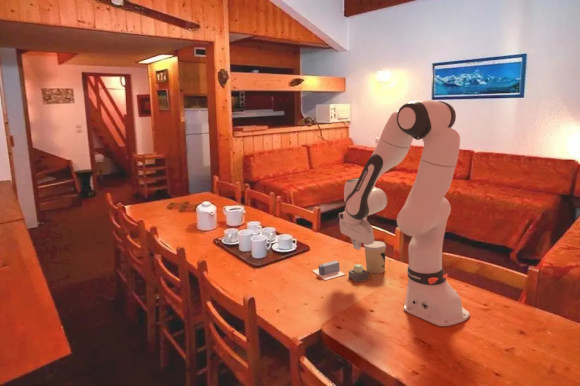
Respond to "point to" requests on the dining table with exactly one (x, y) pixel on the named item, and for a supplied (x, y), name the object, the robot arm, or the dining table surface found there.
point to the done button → (358, 269)
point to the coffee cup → (375, 257)
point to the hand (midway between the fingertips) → (356, 248)
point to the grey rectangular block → (329, 267)
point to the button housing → (358, 276)
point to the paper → (329, 276)
